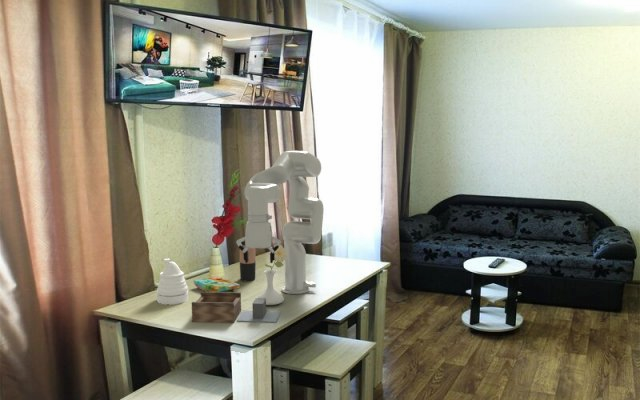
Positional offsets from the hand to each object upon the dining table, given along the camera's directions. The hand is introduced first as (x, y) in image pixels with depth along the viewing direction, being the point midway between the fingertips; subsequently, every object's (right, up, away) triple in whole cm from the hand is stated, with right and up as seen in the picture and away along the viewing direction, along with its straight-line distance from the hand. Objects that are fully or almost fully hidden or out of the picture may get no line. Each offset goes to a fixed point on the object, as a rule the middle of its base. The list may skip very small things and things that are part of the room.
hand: (259, 262), depth 218 cm
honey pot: (-40, -19, +24) cm, 50 cm away
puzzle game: (-24, -17, +39) cm, 49 cm away
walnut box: (-17, -21, +3) cm, 27 cm away
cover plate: (0, -22, +2) cm, 22 cm away
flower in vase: (+3, -20, +20) cm, 28 cm away
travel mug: (-12, -15, +57) cm, 60 cm away
